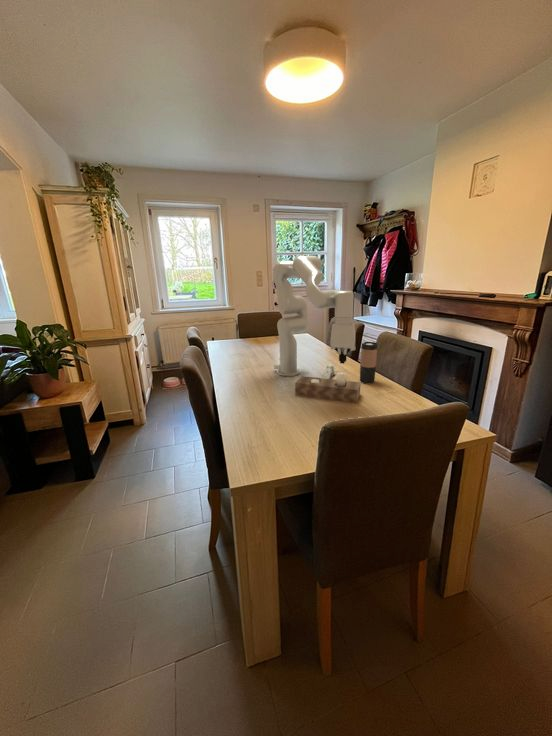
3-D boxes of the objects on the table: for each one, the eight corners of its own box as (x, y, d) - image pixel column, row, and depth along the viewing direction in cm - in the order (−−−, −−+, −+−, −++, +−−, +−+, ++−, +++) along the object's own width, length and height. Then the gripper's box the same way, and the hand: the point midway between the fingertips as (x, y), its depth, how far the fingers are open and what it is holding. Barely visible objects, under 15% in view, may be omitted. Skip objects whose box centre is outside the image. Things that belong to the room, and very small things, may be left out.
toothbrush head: (317, 381, 148) (326, 361, 169) (317, 393, 151) (326, 371, 172) (328, 382, 146) (335, 361, 167) (328, 394, 149) (335, 372, 170)
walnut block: (295, 394, 142) (295, 382, 140) (301, 387, 151) (301, 376, 149) (356, 403, 132) (357, 390, 130) (359, 394, 141) (360, 382, 139)
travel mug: (376, 383, 153) (379, 345, 147) (361, 384, 153) (363, 345, 147) (372, 378, 160) (375, 341, 154) (357, 378, 161) (359, 341, 155)
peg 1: (309, 392, 142) (309, 381, 141) (311, 389, 146) (312, 378, 144) (317, 393, 141) (318, 382, 139) (320, 390, 144) (320, 379, 143)
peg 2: (335, 386, 136) (335, 374, 135) (337, 383, 140) (337, 371, 138) (344, 387, 135) (344, 375, 133) (346, 384, 139) (346, 372, 137)
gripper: (324, 321, 128) (323, 363, 133) (360, 322, 122) (358, 366, 128) (328, 319, 135) (327, 359, 140) (363, 320, 129) (361, 361, 134)
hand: (342, 362), depth 134 cm, fingers closed
